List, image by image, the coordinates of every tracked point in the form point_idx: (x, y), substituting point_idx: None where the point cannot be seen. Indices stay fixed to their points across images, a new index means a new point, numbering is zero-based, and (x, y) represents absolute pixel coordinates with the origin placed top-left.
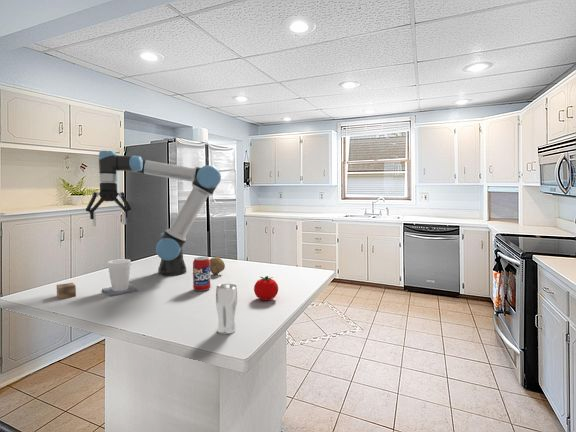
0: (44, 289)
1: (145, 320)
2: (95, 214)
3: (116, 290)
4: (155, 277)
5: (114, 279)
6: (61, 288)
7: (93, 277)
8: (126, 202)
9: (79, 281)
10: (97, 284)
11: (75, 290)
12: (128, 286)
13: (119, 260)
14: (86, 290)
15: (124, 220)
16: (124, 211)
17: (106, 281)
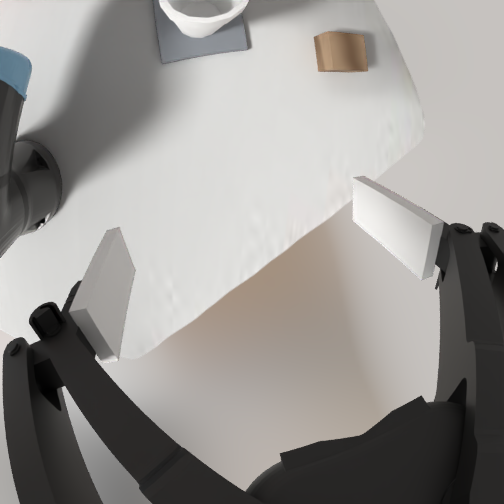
0: (368, 157)
1: None
2: (420, 216)
3: (213, 4)
4: (72, 138)
5: None
6: (357, 35)
7: (251, 228)
8: (19, 435)
9: (291, 197)
10: (250, 129)
11: (321, 34)
12: (170, 34)
13: (197, 17)
14: (285, 77)
15: (107, 246)
16: (85, 339)
17: (221, 154)
